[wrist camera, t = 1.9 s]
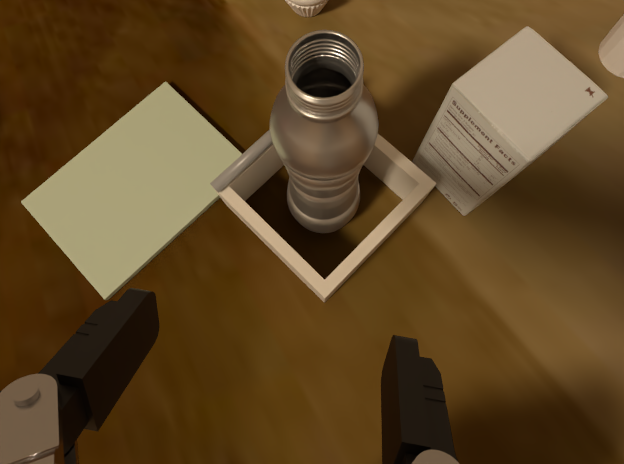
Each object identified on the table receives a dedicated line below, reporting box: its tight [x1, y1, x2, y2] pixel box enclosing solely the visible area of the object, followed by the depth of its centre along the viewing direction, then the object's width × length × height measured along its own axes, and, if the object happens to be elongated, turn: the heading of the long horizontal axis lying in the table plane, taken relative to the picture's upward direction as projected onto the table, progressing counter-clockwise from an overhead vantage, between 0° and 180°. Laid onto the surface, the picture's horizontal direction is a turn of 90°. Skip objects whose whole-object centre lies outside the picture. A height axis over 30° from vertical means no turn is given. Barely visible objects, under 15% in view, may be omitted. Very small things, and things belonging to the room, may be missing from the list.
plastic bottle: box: [270, 30, 379, 233], centre depth 27 cm, size 6×7×20 cm
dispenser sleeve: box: [210, 130, 437, 303], centre depth 34 cm, size 13×13×6 cm
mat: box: [21, 81, 242, 300], centre depth 38 cm, size 18×13×1 cm
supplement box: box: [412, 26, 608, 216], centre depth 31 cm, size 7×7×13 cm
